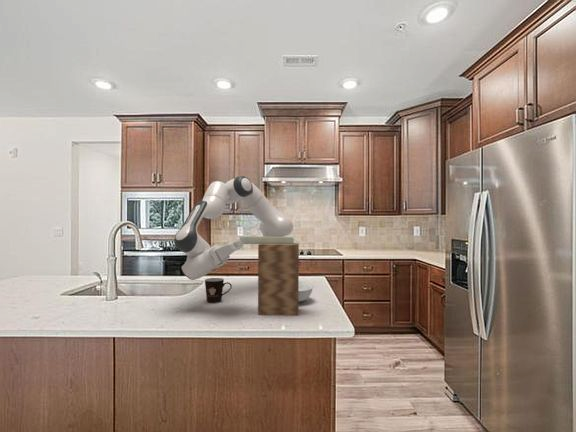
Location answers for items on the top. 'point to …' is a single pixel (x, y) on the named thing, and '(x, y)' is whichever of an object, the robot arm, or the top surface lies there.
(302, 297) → the serving bowl
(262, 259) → the stand
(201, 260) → the robot arm
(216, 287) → the coffee mug
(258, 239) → the pale green bar
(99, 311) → the top surface
